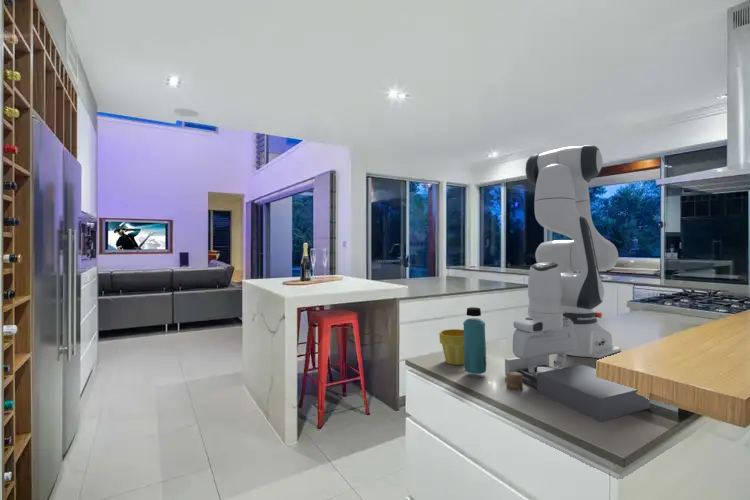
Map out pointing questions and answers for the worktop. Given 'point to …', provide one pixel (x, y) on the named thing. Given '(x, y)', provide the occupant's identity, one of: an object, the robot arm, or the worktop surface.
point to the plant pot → (453, 345)
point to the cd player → (590, 392)
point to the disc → (542, 370)
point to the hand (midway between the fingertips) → (545, 370)
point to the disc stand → (514, 381)
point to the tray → (526, 367)
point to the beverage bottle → (474, 343)
